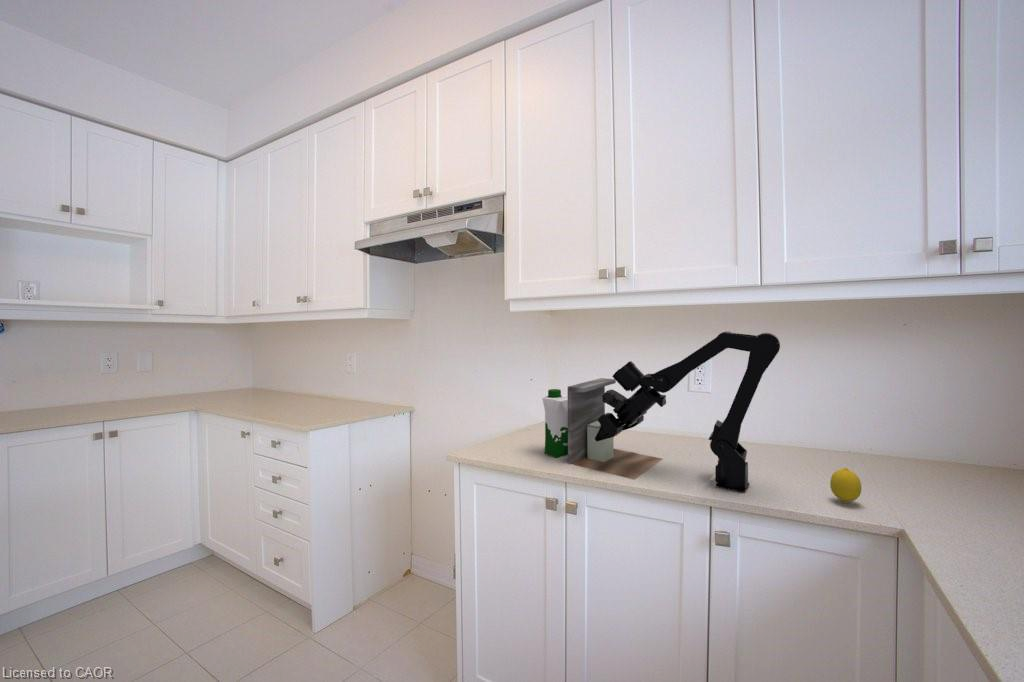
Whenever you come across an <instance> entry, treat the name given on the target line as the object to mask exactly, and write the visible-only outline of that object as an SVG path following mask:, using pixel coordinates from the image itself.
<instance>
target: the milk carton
mask: <svg viewBox="0 0 1024 682" xmlns="http://www.w3.org/2000/svg"><path fill="white" fill-rule="evenodd" d="M547 394H548V395H547V396H543V397H542V404H543V408H544V425H545V426H544V432H545V433H544V434H545V436H544V438H545V439H544V455H547V456H550V457H554V458H557V459H559V458H561V457H564V456H568V395H564V394H562V390H561V389H557V388H553V389H548V390H547Z"/></svg>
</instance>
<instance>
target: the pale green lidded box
mask: <svg viewBox="0 0 1024 682" xmlns="http://www.w3.org/2000/svg"><path fill="white" fill-rule="evenodd" d="M600 427H601V424H600V423H599V421H596V422H593V423H591V424H588V425H587V448H588V458H589V459H594V460H598V461H602V462H606V461H607V460H609V459H611V458H613V457H614V449H615V448H614V447H615V446H614V445H615V443H614V437H615V436H614V437H611V438H608V439H604V440H601V441H598V442H597V441H596V440H595V437H596V435H597V433H598V431H599V429H600Z"/></svg>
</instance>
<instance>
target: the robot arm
mask: <svg viewBox="0 0 1024 682" xmlns="http://www.w3.org/2000/svg"><path fill="white" fill-rule="evenodd" d="M727 349H734V350H737V351H738V350H739V351H743V352H749V355H748V362H747V365H746V370H745V372H744V373H743V374H744V375H743V377H742V379H741V382H740V383H739V386H738V389H737V392H736V394H735V396H734V399H733V400H732V404H731V405H730V408H729V411H728V413H727V416H726V417H725V418H724V420H723V421H720V420H719V419H717V420H716V422H715V424H714V426H713V431H712V432H711V433H710V435H709V438H708V441H710V442H709V448H710V450H711V452H712V453H713V454H714V455H715V456H716V457H717V458H718V460H717V464H716V465H715V468H714V469H715V472H714V473H715V474H714V475H715V478H714V481H715V482H716V483H715V487H717V488H720V489H721V488H722V489H725V490H730V491H733V492H738V493H743V494H744V493H745V492H747V490H748V488H749V487H750V482H749V462H748V461H746V460H747V454H748V450H747V449H745V447H744V446H743V445H742V444H740V442H739V439H740V436H741V429H742V424H743V421H744V419H745V417H746V414H747V412H748V410H749V407H750V406H751V403H752V400H753V398H754V396H755V393H756V391H757V389H758V387H759V384H760V381H761V380H762V378H763V375H764V373H765V372H766V370H767V369H768V368H769V366H770V365H771V363H772V362H773V361H774V359H775V358H776V356H777V355H778V354H779V352H780V349H781V342H780V340H779V337H778V336H776V335H775V334H773V333H770V332H762V333H760V334H758V335H757V334H755V335H753V334H746V333H745V334H744V333H736V332H732V331H723V332H720V333H719V334H718V335H717V336H716V337H715V338H713V339H712V340H711V341H708V342H707V343H706V344H704V345H703V346H701V347H700V348H698V349H697V350H695V351H694V352H692V353H690V354H689V355H687V356H686V357H684V358H683V359H682V360H680V361H679V362H675V363H674V364H672V365H669V366H667V367H664V368H662V369H660V370H657V371H656V372H654V373H646V374H644V373H643V372H642V371H641V370H640V369H639V368H638V367H637V366H636V364H635V363H634V362H633V361H632V360H631V361H628V362H627V363H626V364H625V365H622V367H621V368H619V369H617V371H616V372H615V373H614V374H613V375H612V379H615V380H616V382H617V383H618V385H619V386H621V387H622V389H623V390H624V391H625V392H631V393H633V392H634V393H633V394H632V395H631V396H630V397H628V398H627V397H626V396H625V395H624V394H621V393H620V392H618V391H616V390H614V389H608V390H605V394H604V395H602V398H603V400H602V401H603V402H604V403H605V405H606V404H607V405H609V406H610V407H612V408H613V409H612V411H613V413H612V412H605V414H603V415H602V416H600V417H599V418H598V421H599V423H600V424H601V427H600V429H599V431H598V433H597V435H596V437H595V440H596V441H597V442H598V441H601V440H604V439H608V438H611V437H616V436H618V435H619V434H620V433H622V432H623V431H626V430H629V429H632V428H634V427H636V426H638V425H640V424H641V423H642V422H644V421H645V420H644V418H645V416H644V415H646V414H647V412H648V411H649V410H650V409H652V407H653V406H654V405H656V404H657V405H659V407H660V408H662V407H664V406H665V405H666V404H667V399H666V397H667V395H666V394H665V393H668V392H669V391H671V390H673V389H674V387H676V386H677V385H678V384H679V383H680V382H681V381H683V379H685V377H686V376H687V375H688V374H689V373H690V372H692V371H694V370H695V369H697V368H698V367H700V366H702V365H703V364H705V363H706V362H708V361H709V360H711V359H713V358H714V357H715V356H717V355H719V354H721V352H723V351H725V350H727ZM637 388H638V389H637ZM636 389H637V390H636ZM635 390H636V391H635ZM661 393H663V394H661ZM614 413H615V414H616V415H614Z"/></svg>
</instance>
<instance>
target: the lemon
mask: <svg viewBox="0 0 1024 682" xmlns="http://www.w3.org/2000/svg"><path fill="white" fill-rule="evenodd" d="M829 484H830V487H829V488H830V489H831V492H832V494H833V495H834V496H835V497H836V498H837V499H839V500H840V501H841V502H842V503H844V502H846V503H845V504H847V503H849V502H853V501H856V500H858V498H859V497H860V496H861V493H862V482H861V480H860V477H859V476H858V475H857V474H856V473H855V472H854V471H852V470H850V469H849V468H847V467H843V468H841V469H837V470H835V471H834V472H833V473H832V474H831V477H830V482H829Z"/></svg>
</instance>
